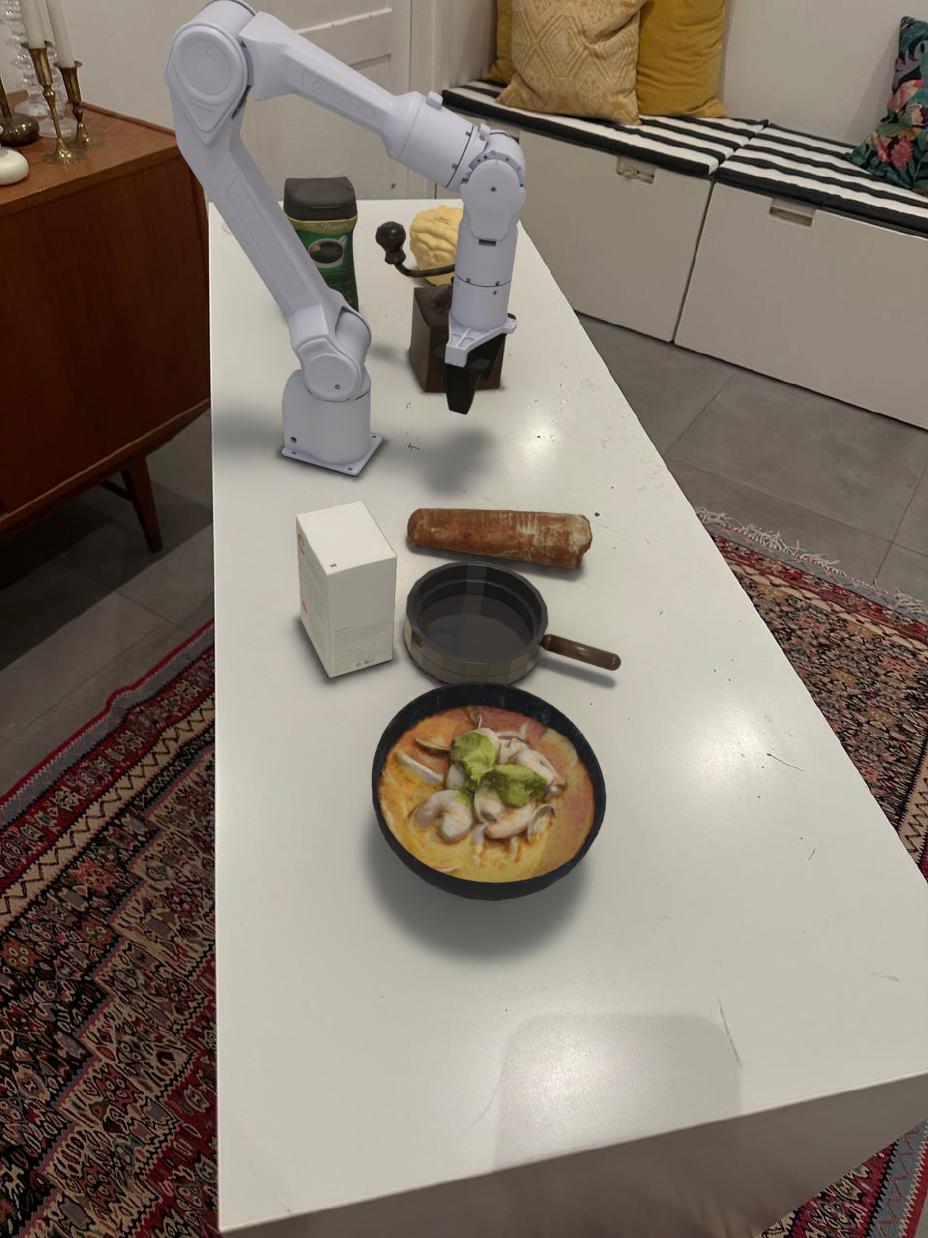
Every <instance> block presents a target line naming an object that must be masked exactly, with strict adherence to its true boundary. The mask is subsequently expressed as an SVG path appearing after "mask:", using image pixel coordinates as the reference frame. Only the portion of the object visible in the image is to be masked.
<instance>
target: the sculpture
mask: <svg viewBox="0 0 928 1238" xmlns="http://www.w3.org/2000/svg"><path fill="white" fill-rule="evenodd" d="M462 217H463V208H460V207H450V206H447V205H446V204H441V205H439V206H437V207H435V208H430V209H427V210H423V211H419V212H418V213H416V215H415V216H414V218H413V219H412V220H413V221H412V223H411V224H410V225H409V238H410V239H409V250H410V252H411V253H412V254H413V256H414V259H415V262H416V264H417V266H418V270H427V269H435V268H441V267H445V266H448V265H452V264H455V262H456V251H457V239H458V228H459V223H460V221H461V219H462ZM453 276H454V272H452V273H449V274H444V275H438V276H431V277H424V279H425V280H427V281H428V282H429V283H431V284H433V285H434V286H435V287H436V286H439V285H442V284H449V283H451V278H452V277H453Z"/></svg>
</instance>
